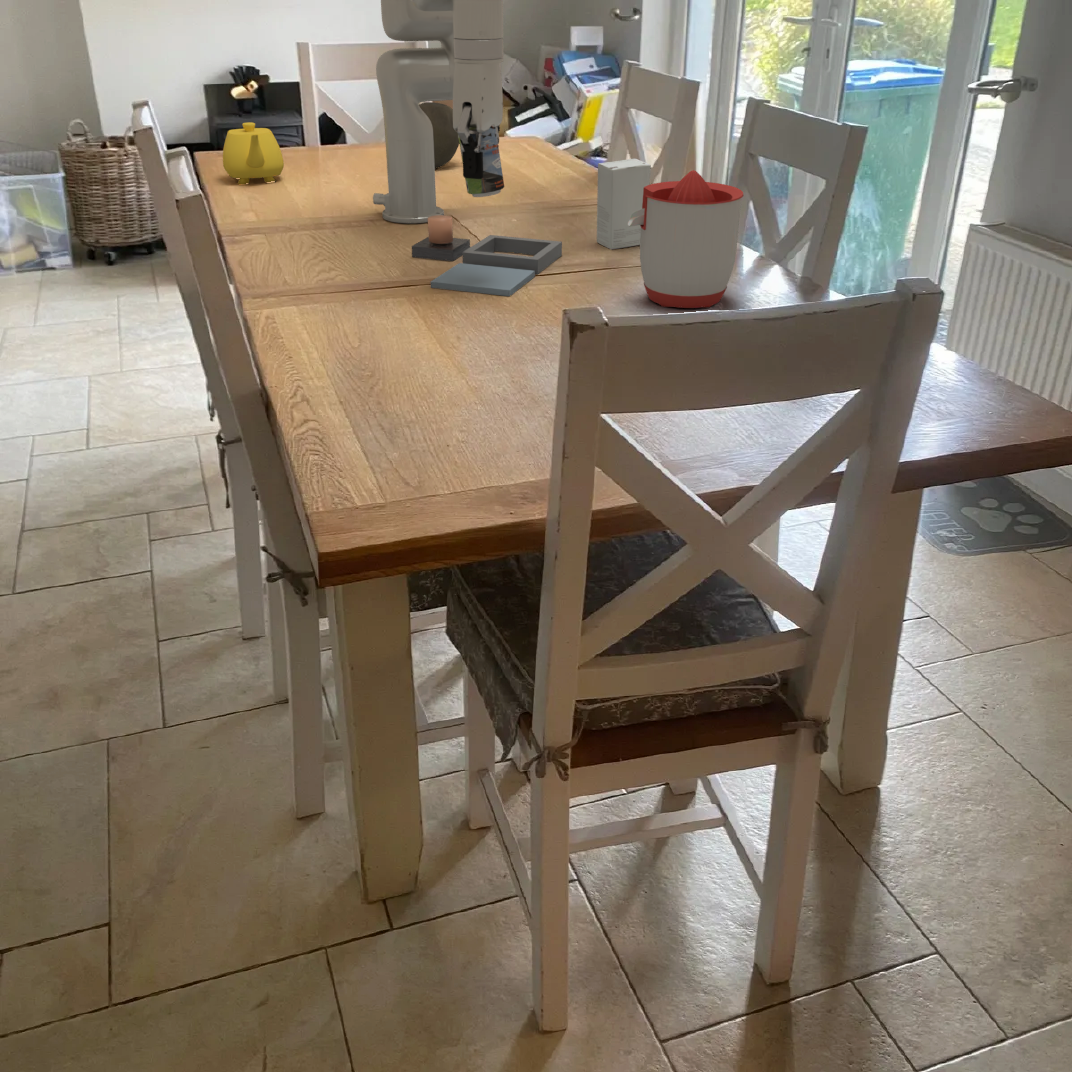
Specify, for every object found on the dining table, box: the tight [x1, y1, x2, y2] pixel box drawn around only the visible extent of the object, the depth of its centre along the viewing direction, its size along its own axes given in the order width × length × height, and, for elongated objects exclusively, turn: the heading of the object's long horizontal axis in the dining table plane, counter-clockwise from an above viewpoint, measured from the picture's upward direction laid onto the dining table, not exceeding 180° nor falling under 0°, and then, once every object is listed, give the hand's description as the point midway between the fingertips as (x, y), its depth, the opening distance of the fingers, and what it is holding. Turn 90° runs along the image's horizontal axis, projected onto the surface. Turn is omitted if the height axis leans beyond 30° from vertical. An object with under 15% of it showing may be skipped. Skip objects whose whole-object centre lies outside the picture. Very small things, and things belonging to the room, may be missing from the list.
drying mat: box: [430, 262, 536, 297], centre depth 180 cm, size 14×12×1 cm
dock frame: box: [461, 234, 563, 275], centre depth 191 cm, size 14×13×2 cm
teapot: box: [222, 121, 285, 185], centre depth 247 cm, size 14×20×13 cm
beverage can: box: [458, 124, 505, 198], centre depth 170 cm, size 6×7×12 cm
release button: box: [427, 214, 454, 244], centre depth 193 cm, size 4×4×4 cm
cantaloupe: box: [419, 101, 460, 169], centre depth 262 cm, size 14×14×15 cm
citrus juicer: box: [628, 169, 744, 309], centre depth 167 cm, size 16×17×20 cm
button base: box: [411, 236, 471, 262], centre depth 195 cm, size 8×8×2 cm
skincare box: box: [596, 158, 652, 251], centre depth 198 cm, size 8×6×15 cm
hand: (481, 173), depth 171 cm, fingers closed on beverage can, 6 cm apart
